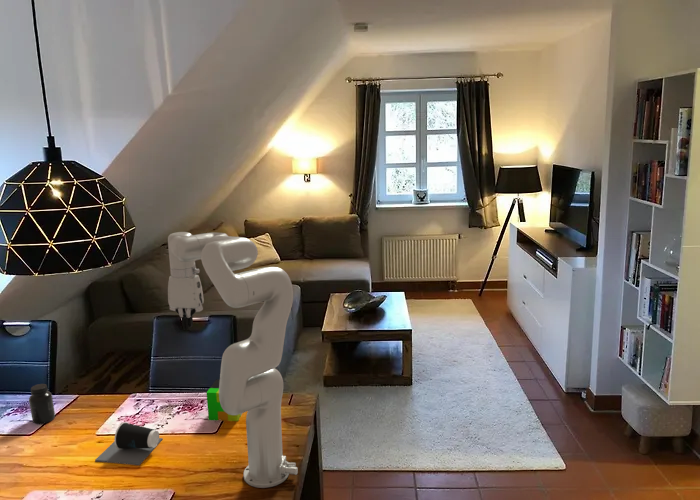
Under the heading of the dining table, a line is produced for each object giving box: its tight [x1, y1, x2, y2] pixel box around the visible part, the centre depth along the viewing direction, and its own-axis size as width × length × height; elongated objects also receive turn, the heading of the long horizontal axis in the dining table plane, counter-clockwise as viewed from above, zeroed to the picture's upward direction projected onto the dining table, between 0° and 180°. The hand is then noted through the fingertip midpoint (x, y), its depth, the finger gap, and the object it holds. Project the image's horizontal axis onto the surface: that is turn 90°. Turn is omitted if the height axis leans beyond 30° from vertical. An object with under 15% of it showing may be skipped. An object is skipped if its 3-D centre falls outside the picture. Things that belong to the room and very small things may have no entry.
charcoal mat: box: [95, 437, 164, 466], centre depth 176 cm, size 14×14×1 cm
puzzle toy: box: [206, 378, 243, 422], centre depth 197 cm, size 10×10×10 cm
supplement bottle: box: [28, 383, 56, 425], centre depth 194 cm, size 7×7×12 cm
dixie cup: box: [113, 421, 160, 449], centre depth 175 cm, size 8×8×11 cm
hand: (187, 328), depth 184 cm, fingers closed
